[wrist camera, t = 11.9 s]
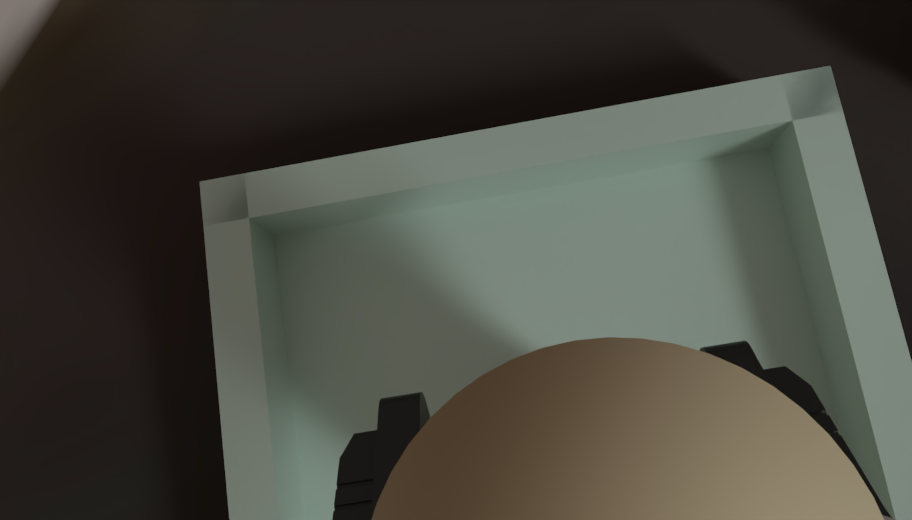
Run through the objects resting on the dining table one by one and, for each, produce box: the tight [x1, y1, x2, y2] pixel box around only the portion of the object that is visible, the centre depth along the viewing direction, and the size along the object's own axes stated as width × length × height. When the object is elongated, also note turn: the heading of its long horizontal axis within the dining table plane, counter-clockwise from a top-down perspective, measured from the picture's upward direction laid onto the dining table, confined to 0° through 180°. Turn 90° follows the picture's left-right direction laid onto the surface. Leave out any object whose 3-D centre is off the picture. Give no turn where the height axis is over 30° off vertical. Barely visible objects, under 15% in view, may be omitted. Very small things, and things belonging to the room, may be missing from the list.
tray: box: [199, 66, 912, 520], centre depth 20 cm, size 16×18×3 cm
